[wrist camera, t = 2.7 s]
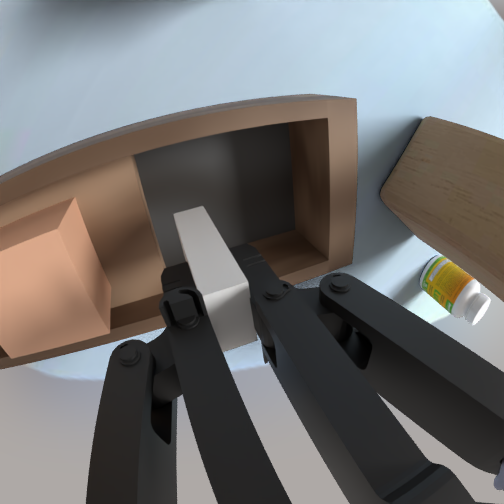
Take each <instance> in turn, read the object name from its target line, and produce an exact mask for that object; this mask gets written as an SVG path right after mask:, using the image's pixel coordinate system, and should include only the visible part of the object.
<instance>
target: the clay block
mask: <svg viewBox="0 0 504 504" xmlns="http://www.w3.org/2000/svg"><path fill="white" fill-rule="evenodd" d="M110 309H111V285H110V283H109V281H108V279H107V277H106V275H105V272H104V270H103V268H102V266H101V263H100V261H99V259H98V256H97V254H96V251H95V249H94V247H93V244H92V242H91V239H90V237H89V234H88V232H87V229H86V226H85V224H84V221H83V218H82V216H81V213H80V210H79V207H78V204H77V201H76V198H75V197H73V198H70V199H67V200H65V201H62V202H59V203H57V204H54V205H52V206H49V207H47V208H44V209H42V210H39V211H37V212H35V213H32V214H30V215H27V216H25V217H23V218H20V219H18V220H16V221H14V222H11V223H9V224H7V225H5V226H3V227H1V228H0V345H1V347H2V348H3V349H4V350H5V352H6V353H7V354H8V355H9V357H10V358H11V359H12V358H16V357H20V356H25V355H29V354H33V353H37V352H41V351H45V350H49V349H53V348H57V347H61V346H64V345H68V344H72V343H76V342H80V341H83V340H87V339H91V338H94V337H98V336H102V335H105V334H109V333H110Z"/></svg>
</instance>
